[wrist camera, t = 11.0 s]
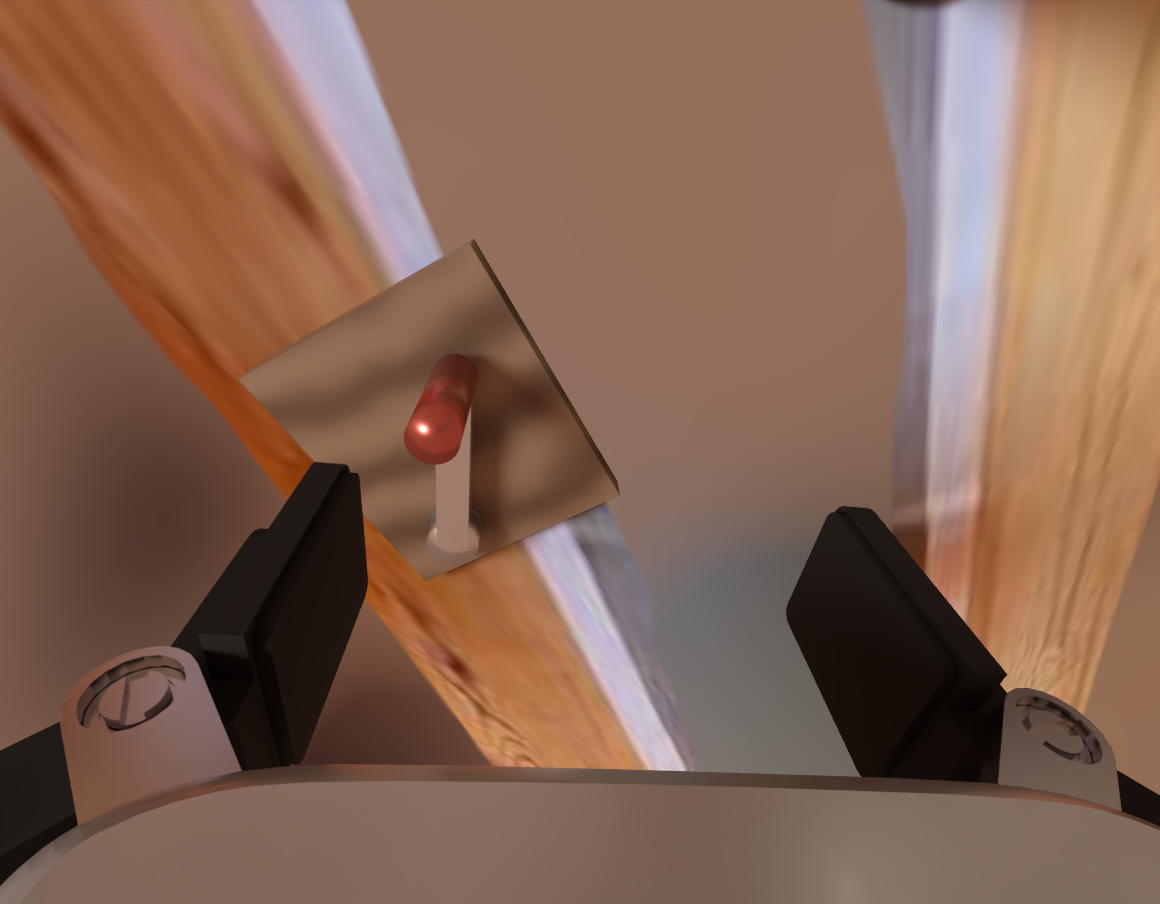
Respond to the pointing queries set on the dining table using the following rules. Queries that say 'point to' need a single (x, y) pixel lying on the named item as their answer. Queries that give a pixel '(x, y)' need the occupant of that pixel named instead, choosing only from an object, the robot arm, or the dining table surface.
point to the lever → (448, 455)
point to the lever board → (392, 390)
